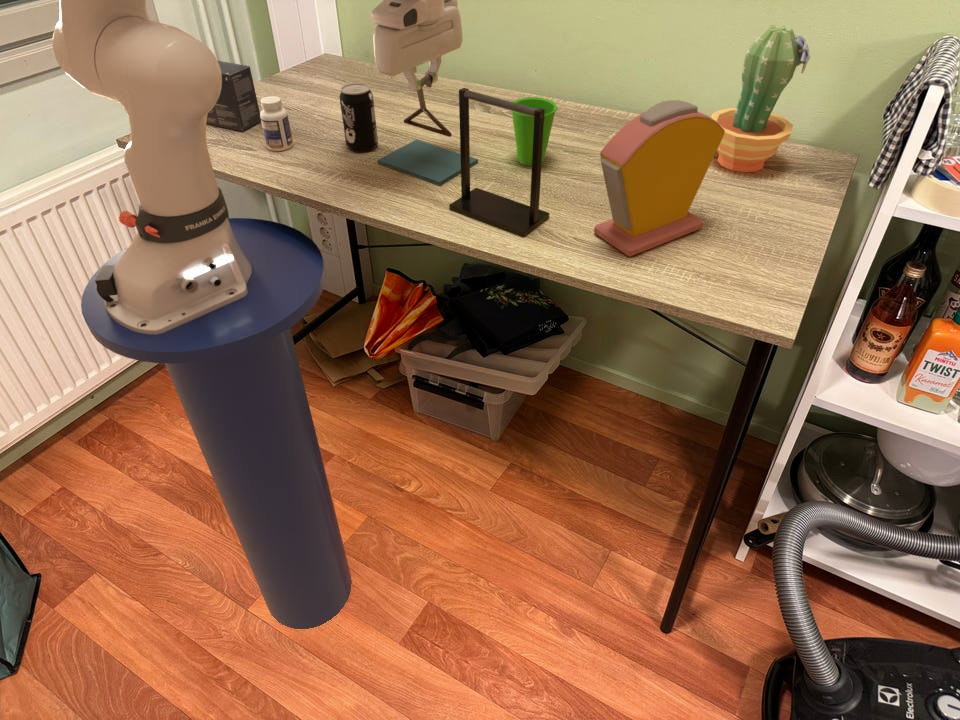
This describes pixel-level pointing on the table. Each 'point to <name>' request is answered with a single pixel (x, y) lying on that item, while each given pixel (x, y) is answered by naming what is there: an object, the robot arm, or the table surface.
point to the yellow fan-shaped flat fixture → (656, 175)
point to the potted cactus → (760, 100)
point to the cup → (532, 127)
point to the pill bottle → (275, 124)
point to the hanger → (426, 112)
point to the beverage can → (358, 117)
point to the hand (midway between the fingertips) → (423, 86)
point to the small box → (235, 99)
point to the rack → (491, 205)
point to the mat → (426, 162)
